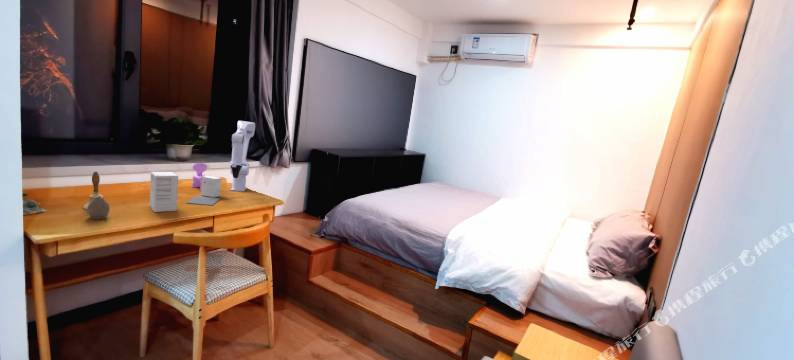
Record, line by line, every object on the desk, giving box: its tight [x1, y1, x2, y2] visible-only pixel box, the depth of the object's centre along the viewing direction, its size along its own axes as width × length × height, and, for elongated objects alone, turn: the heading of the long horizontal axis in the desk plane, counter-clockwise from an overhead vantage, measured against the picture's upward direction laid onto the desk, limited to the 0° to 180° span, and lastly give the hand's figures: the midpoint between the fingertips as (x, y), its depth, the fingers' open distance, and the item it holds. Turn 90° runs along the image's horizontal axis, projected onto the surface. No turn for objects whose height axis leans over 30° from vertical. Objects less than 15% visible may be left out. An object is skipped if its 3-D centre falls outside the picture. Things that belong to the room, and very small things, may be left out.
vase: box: [86, 196, 111, 220], centre depth 141 cm, size 7×7×9 cm
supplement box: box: [149, 171, 179, 213], centre depth 162 cm, size 10×9×17 cm
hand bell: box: [82, 171, 104, 210], centre depth 151 cm, size 8×8×16 cm
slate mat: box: [186, 195, 221, 206], centre depth 184 cm, size 14×12×1 cm
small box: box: [200, 175, 223, 198], centre depth 194 cm, size 8×6×10 cm
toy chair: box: [190, 162, 208, 191], centre depth 205 cm, size 8×9×15 cm
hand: (235, 177), depth 201 cm, fingers closed
